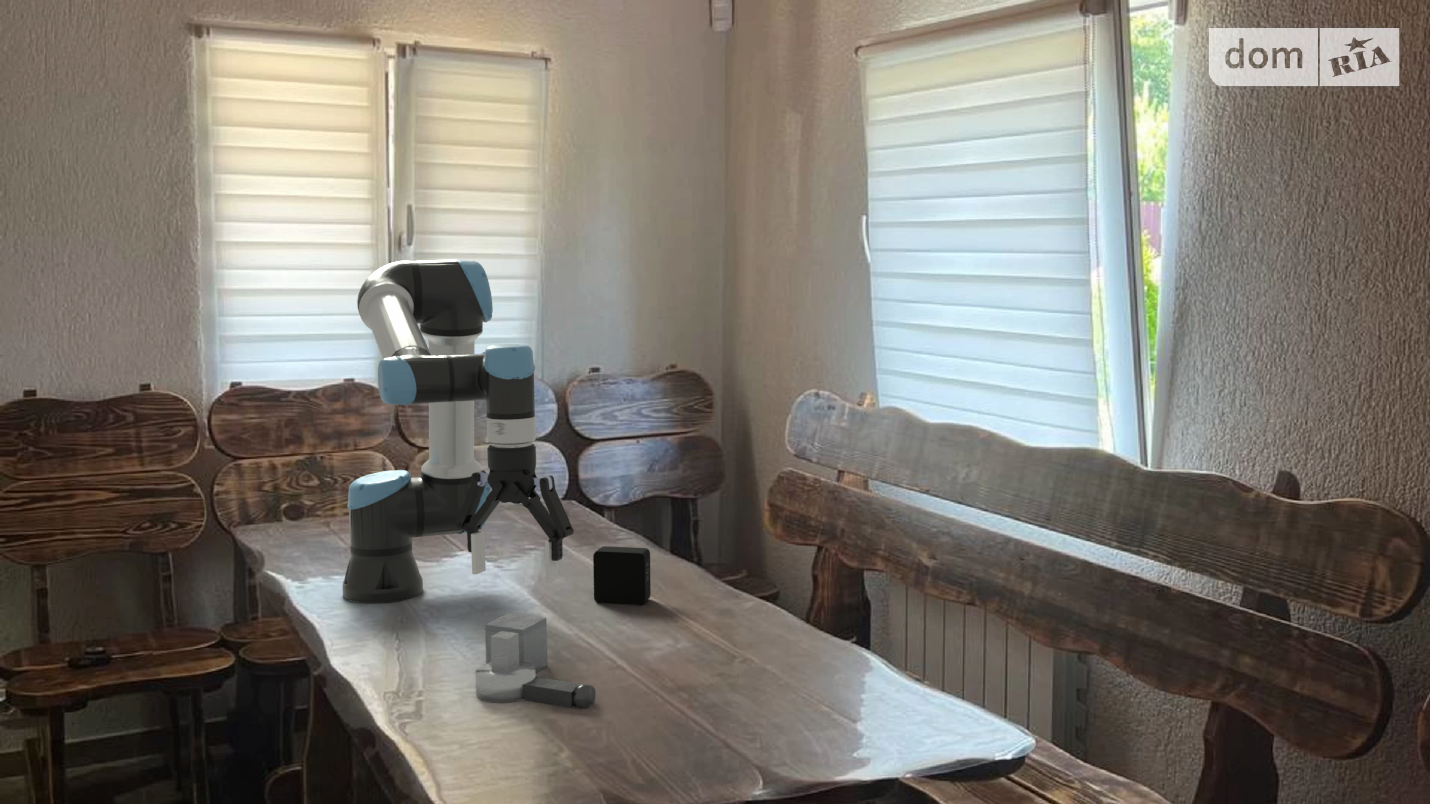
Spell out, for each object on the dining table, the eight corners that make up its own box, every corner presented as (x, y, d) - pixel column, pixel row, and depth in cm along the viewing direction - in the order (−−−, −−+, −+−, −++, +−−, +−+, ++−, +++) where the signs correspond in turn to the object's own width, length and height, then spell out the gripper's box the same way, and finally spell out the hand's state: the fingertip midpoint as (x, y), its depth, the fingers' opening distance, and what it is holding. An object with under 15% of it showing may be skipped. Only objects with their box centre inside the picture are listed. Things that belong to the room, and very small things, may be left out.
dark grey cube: (486, 673, 207) (485, 624, 206) (510, 660, 214) (509, 612, 213) (524, 679, 204) (523, 629, 203) (547, 665, 211) (546, 617, 210)
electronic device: (645, 605, 244) (644, 553, 243) (593, 602, 246) (593, 551, 245) (650, 599, 248) (650, 548, 247) (600, 596, 250) (599, 545, 249)
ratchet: (464, 701, 197) (462, 639, 195) (497, 682, 205) (495, 623, 203) (574, 719, 189) (573, 655, 188) (604, 699, 197) (603, 637, 196)
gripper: (431, 442, 206) (435, 574, 208) (568, 451, 196) (572, 589, 198) (458, 436, 213) (462, 563, 215) (593, 444, 203) (595, 578, 205)
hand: (515, 576), depth 207 cm, fingers open, 13 cm apart
